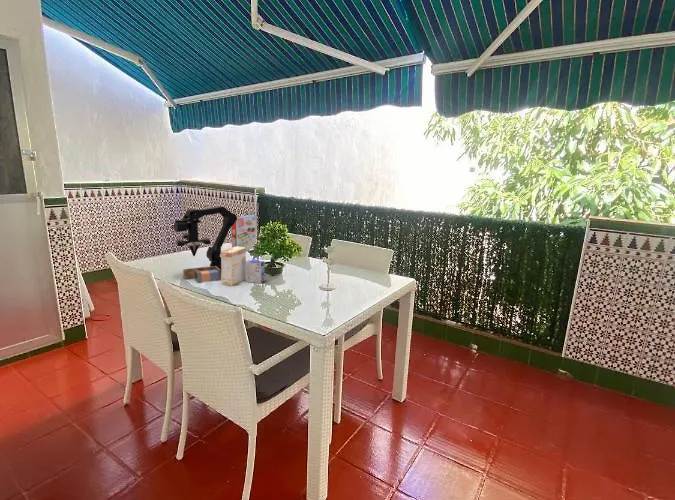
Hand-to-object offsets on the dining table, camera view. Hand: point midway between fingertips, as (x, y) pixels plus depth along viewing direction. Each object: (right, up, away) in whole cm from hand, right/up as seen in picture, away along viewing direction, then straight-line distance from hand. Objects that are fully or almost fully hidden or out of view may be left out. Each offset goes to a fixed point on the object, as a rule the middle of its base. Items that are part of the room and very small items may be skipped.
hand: (193, 256), depth 225 cm
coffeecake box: (+26, -15, -6) cm, 30 cm away
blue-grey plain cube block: (+13, -14, -3) cm, 19 cm away
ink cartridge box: (+38, -15, -4) cm, 41 cm away
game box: (+13, +3, +71) cm, 73 cm away
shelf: (+7, -14, -5) cm, 16 cm away
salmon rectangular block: (+8, -14, -6) cm, 18 cm away
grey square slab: (+5, -14, -8) cm, 17 cm away
